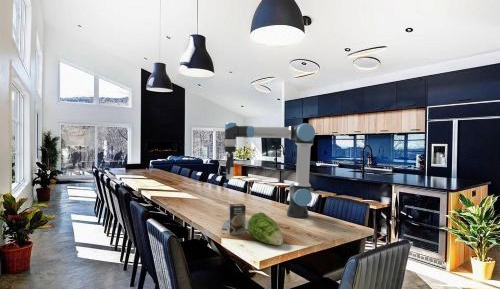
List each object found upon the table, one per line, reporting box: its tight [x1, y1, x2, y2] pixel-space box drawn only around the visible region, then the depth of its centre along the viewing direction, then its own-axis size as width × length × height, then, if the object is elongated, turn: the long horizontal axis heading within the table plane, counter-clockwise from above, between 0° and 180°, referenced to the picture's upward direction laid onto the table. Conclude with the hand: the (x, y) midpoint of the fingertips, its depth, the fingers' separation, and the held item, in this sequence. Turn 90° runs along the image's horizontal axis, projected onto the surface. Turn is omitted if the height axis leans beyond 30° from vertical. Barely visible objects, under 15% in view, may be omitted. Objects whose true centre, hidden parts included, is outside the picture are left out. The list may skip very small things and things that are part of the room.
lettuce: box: [247, 211, 284, 246], centre depth 158 cm, size 14×23×13 cm, turn 34°
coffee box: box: [227, 203, 247, 236], centre depth 171 cm, size 9×6×16 cm
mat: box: [221, 219, 249, 232], centre depth 185 cm, size 18×18×1 cm
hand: (229, 178), depth 199 cm, fingers open, 13 cm apart
